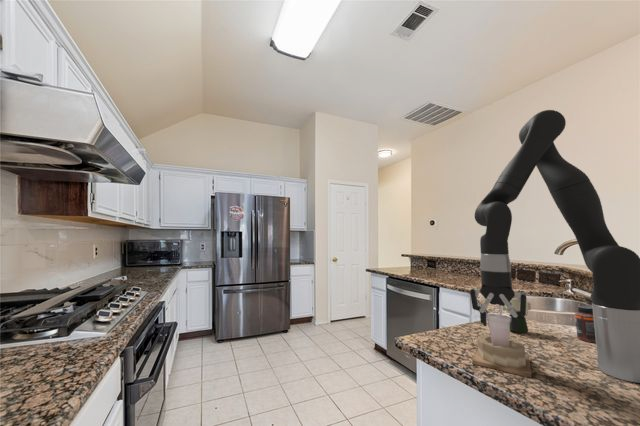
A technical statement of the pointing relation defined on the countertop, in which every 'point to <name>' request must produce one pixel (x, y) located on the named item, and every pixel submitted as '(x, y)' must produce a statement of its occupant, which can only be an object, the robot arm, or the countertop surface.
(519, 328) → the character mug
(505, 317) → the smoothie
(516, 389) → the countertop surface
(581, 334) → the supplement bottle
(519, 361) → the bottle holder
